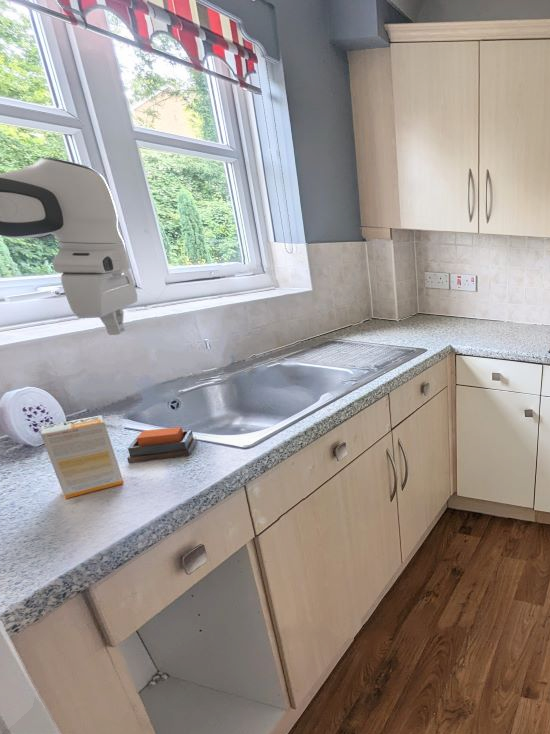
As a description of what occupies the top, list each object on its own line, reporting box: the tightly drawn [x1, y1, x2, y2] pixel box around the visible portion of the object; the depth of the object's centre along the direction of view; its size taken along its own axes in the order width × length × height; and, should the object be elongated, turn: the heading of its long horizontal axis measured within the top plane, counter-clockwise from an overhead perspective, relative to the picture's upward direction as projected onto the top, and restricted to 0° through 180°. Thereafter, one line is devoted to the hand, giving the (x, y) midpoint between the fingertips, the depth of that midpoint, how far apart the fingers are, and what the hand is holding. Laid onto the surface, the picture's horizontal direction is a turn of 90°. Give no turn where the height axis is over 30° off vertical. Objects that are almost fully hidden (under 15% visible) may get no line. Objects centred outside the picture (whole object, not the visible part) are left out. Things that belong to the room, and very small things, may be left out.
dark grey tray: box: [127, 429, 198, 464], centre depth 99 cm, size 10×8×3 cm
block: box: [136, 426, 184, 446], centre depth 98 cm, size 7×4×4 cm, turn 114°
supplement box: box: [40, 414, 124, 499], centre depth 83 cm, size 8×5×13 cm, turn 134°
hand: (116, 333), depth 88 cm, fingers closed
